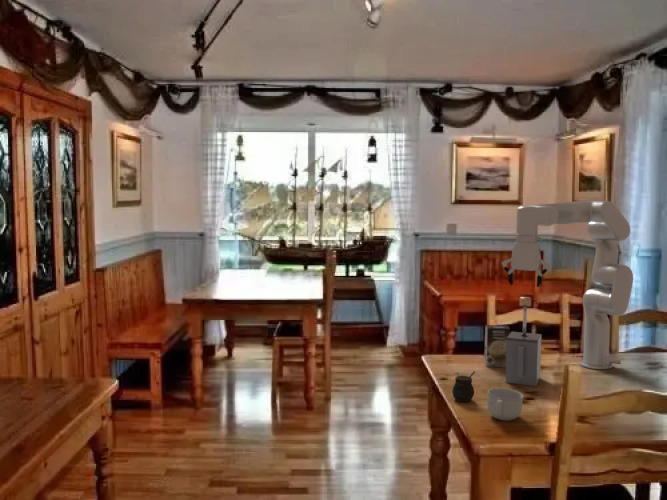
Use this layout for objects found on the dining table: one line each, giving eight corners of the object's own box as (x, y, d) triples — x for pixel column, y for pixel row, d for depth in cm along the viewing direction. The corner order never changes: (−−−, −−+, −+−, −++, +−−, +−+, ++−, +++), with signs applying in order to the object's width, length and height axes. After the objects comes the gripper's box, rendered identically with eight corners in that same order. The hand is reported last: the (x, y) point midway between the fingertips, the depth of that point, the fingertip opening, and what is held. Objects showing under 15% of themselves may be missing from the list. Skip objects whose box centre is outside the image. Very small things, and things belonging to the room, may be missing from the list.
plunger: (538, 341, 236) (539, 296, 234) (535, 347, 228) (536, 300, 226) (513, 339, 240) (514, 295, 238) (509, 344, 232) (511, 298, 230)
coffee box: (486, 366, 253) (486, 328, 252) (483, 362, 260) (484, 324, 258) (509, 367, 252) (510, 328, 251) (506, 363, 259) (507, 325, 257)
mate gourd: (447, 398, 215) (448, 369, 214) (466, 396, 217) (467, 367, 217) (459, 404, 208) (460, 375, 207) (478, 402, 211) (479, 373, 210)
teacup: (496, 409, 204) (496, 385, 203) (528, 416, 197) (528, 391, 197) (476, 421, 193) (477, 395, 193) (509, 429, 187) (510, 403, 186)
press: (540, 378, 238) (541, 334, 236) (535, 388, 225) (536, 342, 223) (510, 374, 242) (511, 331, 241) (504, 384, 230) (505, 339, 228)
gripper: (552, 240, 230) (550, 285, 231) (504, 238, 237) (502, 282, 239) (550, 241, 223) (548, 288, 225) (500, 239, 230) (499, 285, 232)
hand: (524, 285), depth 232 cm, fingers open, 9 cm apart
